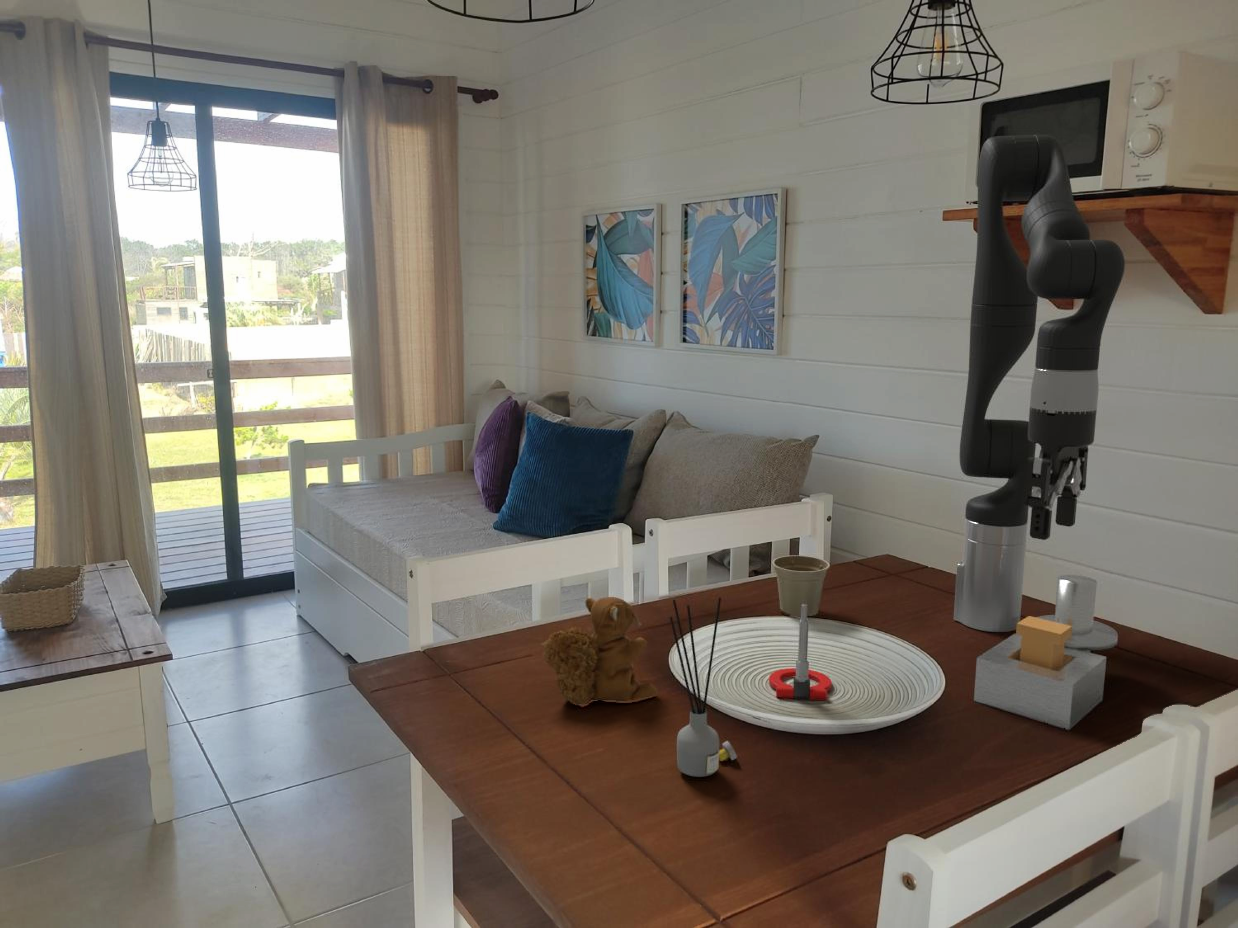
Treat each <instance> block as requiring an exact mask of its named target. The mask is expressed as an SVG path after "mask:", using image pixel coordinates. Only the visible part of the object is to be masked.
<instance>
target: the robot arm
mask: <svg viewBox="0 0 1238 928" xmlns="http://www.w3.org/2000/svg"><path fill="white" fill-rule="evenodd" d="M1026 201H1027V204H1026V206H1025V208H1024V209H1023V213H1022V216H1021V230H1022V233H1023V236H1024V239H1025V242H1026V243H1027V247H1029V251H1030V252H1029V253H1030V254H1029V261H1028V262H1027V263H1028V264H1027V266H1026V265H1025V263H1024V261H1023V260H1022V258H1021V256H1020V255H1019V253H1018V251H1017V250H1016V248H1015V246H1014V244H1013V242H1012V240H1011V238H1010V235H1009V232H1008V229H1007V226H1006V221H1005V217H1004V210H1003V209H1004V207H1003V206H1004V205H1003V204H1004V203H1003V202H1026ZM976 228H977V231H976V233H977V238H976V258H975V266H974V267H975V268H974V276H973V277H974V278H973V287H972V296H971V297H972V298H971V311H970V322H969V323H970V326H969V354H968V357H969V359H968V372H967V373H968V374H967V375H968V376H967V383H966V384H967V385H966V393H965V402H964V410H963V415H962V416H963V417H962V426H961V432H960V433H961V435H960V442H959V466H960V469H961V471H962V474H964V475H965V476H967V477H972V478H973V477H974V478H987V479H1008V480H1007V482H1006V483H1005V484H1004V485H1002V486H1001V487H999V488H997V489H996V490H994V491H991V492H988V493H985V494H982V495H977V496H974V497H972V498H971V499H970V498H969V500H968V501H967V503H966V504H965V513H964V514H965V515H964V516H965V517H964V518H965V519H964V534H963V550H962V561H961V562H959V563H958V564H957V565H956V575H955V576H956V577H955V592H954V593H955V594H954V609H953V621H957V622H959V623H961V624H963V625H964V626H966V627H969V628H972V629H974V630H978V631H984V632H989V633H990V632H992V633H994V632H995V633H1006V632H1012V631H1016V627H1017V623H1018V622H1020V621H1021V617H1022V616H1021V615H1022V614H1021V610H1022V609H1021V608H1022V600H1023V599H1022V598H1023V585H1024V574H1025V573H1024V572H1025V562H1026V561H1025V559H1026V547H1027V534H1028V533H1027V532H1028V519H1029V508H1030V509H1031V513H1030V525H1029V536H1030V537H1031V538H1032V539H1037V540H1042V541H1045V540H1048V539H1049V538H1051V537H1050V536H1051V527H1052V517H1053V516H1052V514H1053V510H1052V509H1053V508H1054V504H1055V501H1056V499H1057V501H1056V510H1055V512H1056V513H1055V523H1056V525H1057V526H1062V527H1068V528H1070V527H1071V528H1072V526H1075V524H1076V517H1077V516H1076V515H1077V504H1078V498H1079V497H1080V496H1081V491H1085V490H1086V488H1087V473H1088V472H1087V471H1088V457H1089V446H1091V445H1093V443H1094V441H1095V434H1096V433H1095V432H1096V424H1097V423H1096V422H1097V408H1098V399H1099V365H1100V364H1099V362H1100V361H1099V360H1100V354H1101V353H1100V351H1101V341H1102V336H1103V331H1104V327H1105V325H1106V321H1107V318H1108V315H1109V312H1110V310H1111V307H1112V305H1113V301H1114V299H1115V296H1116V295H1117V292H1118V290H1119V287H1120V285H1121V282H1122V280H1123V276H1124V273H1125V268H1126V267H1125V263H1126V262H1125V261H1126V260H1125V256H1124V253H1123V251H1122V249H1121V247H1120V246H1119V244H1117V243H1116V242H1115V241H1112V240H1110V239H1109V240H1108V239H1091V233H1090V229H1089V226H1088V224H1087V222H1086V221H1085V219H1084V216H1083V215H1082V213H1081V212H1080V210H1079V208H1078V207H1077V205H1076V202H1075V200H1074V196H1073V190H1072V183H1071V178H1070V175H1069V169H1068V164H1067V160H1066V157H1065V153H1064V149H1063V146H1062V144H1061V142H1060V140H1058V139H1057V138H1056V137H1054V136H1052V135H1048V134H1023V135H999V136H998V135H997V136H991V137H989V138H987V140H986V141H984V143H983V145H982V147H981V151H980V154H979V161H978V169H977V226H976ZM1038 297H1039V298H1041V299H1044V300H1083V301H1082V304H1081V306H1080V307H1079V308H1078V310H1077V311H1076V312H1075V313H1073V314H1072V315H1070V316H1066V317H1061V318H1056V319H1052V320H1047V321H1045V322H1044V323H1041V325H1040V326H1039V327H1038V330H1037V331H1038V332H1037V337H1036V339H1037V341H1036V349H1035V350H1036V352H1035V364H1034V367H1035V368H1034V373H1033V379H1032V383H1031V389H1030V401H1029V414H1028V420H1024V419H1023V420H1022V419H1021V420H1020V419H1019V420H1018V419H993V418H989V419H988V418H986V415H987V412H988V409H989V408H988V407H989V405H990V403H991V400H992V398H993V396H994V394H995V393H996V392H997V389H998V388H999V386H1000V384H1001V383H1002V381H1003V380H1004V378H1005V377H1006V376H1007V374H1008V373H1009V372H1010V371H1011V370H1012V368H1013V367H1014V366H1015V365H1016V363H1017V362H1018V361H1019V360H1020V358H1021V357H1022V356H1023V354H1024V353H1025V351H1027V349H1028V347H1029V346H1030V344H1031V343H1032V341H1033V338H1034V336H1035V332H1036V321H1037V309H1038V301H1039V300H1038V299H1039V298H1038ZM1037 444H1038V445H1039V446H1040V451H1039V456H1038V457H1037V456H1036V448H1037ZM1035 456H1036V457H1035Z"/></svg>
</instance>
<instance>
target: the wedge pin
mask: <svg viewBox="0 0 1238 928" xmlns="http://www.w3.org/2000/svg"><path fill="white" fill-rule="evenodd" d="M1036 617H1037V616H1036ZM1036 617H1035V616H1030V615H1029V616H1026V617H1025V618H1023V619H1021V620H1020V622H1018V623H1017V627H1016V630H1015V634H1016V635H1020V636H1022V639H1021V651H1020V661H1021V662H1025V663H1029V664H1032V665H1036V666H1040V667H1044V668H1047V669H1051V670H1055V671H1059V670H1061V669H1062V666H1063V655H1064V644H1065V641H1067V640H1068V639H1069V638H1071V634H1072V626H1069V625H1065V624H1061V623H1057V622H1053V621H1048V620H1044V619H1040V618H1036Z"/></svg>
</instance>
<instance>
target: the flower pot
mask: <svg viewBox="0 0 1238 928" xmlns="http://www.w3.org/2000/svg"><path fill="white" fill-rule="evenodd" d="M771 563H772V566H773V567H774V573H775V574H776V579H777V580H776V581H777V590H778V600H779V608H780V609H781V610H782V611H784V612H786V613H789V614H791V615H790V616H797V617H801V610H802V604H807V605H808V609H807V617H811V616H813V615H815V616H817V615H818V613H819V608H820V602H821V598H822V597H821V596H822V590H823V585H824V580H825V577H826V576H827V572H828V570H829V568H830V566H831V565H830V563H829V562H828V561H827V560H825V559H822V558H820V557H815V556H811V555H810V556H809V555H797V554H796V555H794V554H793V555H783V556H779V557H776V558H774V559H773V560H772V562H771ZM781 610H780V611H781ZM784 612H783V613H784ZM816 614H817V615H816ZM790 616H789V617H790ZM797 617H796V618H797ZM813 617H814V616H813Z"/></svg>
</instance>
